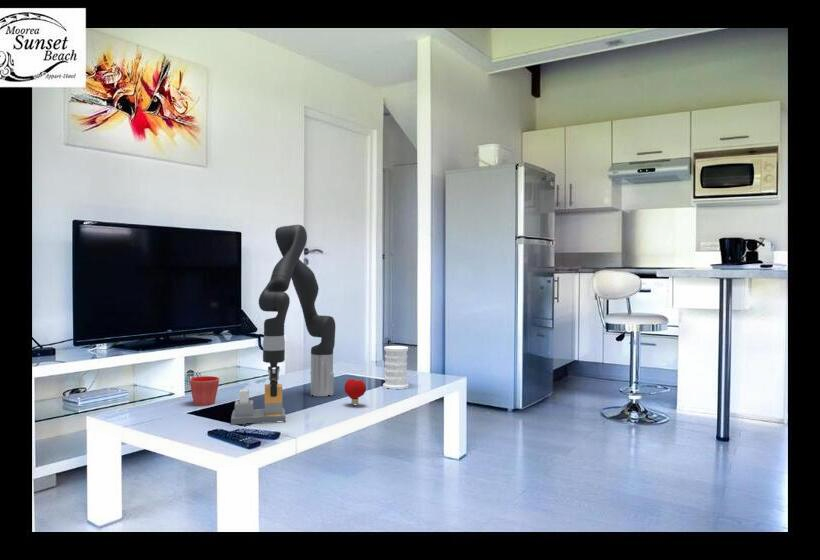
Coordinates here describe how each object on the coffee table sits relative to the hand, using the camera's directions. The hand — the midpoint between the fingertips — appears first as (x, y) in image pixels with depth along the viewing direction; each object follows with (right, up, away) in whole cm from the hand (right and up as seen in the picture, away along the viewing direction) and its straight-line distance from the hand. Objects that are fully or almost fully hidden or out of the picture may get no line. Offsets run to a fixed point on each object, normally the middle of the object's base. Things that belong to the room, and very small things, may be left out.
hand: (273, 393), depth 209 cm
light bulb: (+27, -9, +21) cm, 35 cm away
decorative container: (+42, -8, +57) cm, 71 cm away
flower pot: (-32, -8, +21) cm, 39 cm away
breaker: (-10, -4, -2) cm, 11 cm away
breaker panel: (-5, -9, -1) cm, 10 cm away
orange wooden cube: (0, -3, 0) cm, 3 cm away
